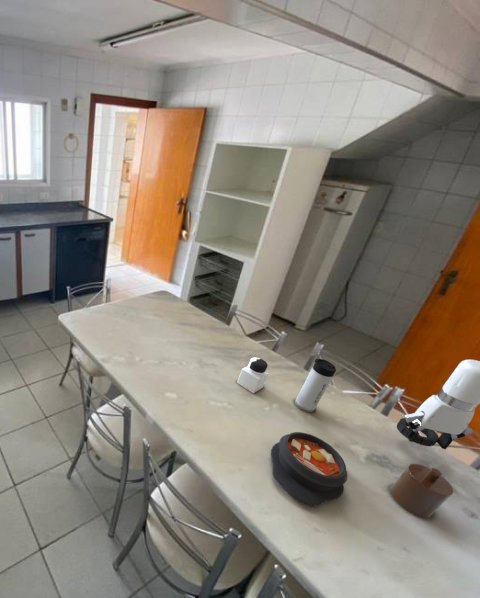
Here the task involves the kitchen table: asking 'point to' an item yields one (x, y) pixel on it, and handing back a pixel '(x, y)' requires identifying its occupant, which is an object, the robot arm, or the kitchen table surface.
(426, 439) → the black segmented ring
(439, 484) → the brown cylinder
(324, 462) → the casserole
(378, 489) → the kitchen table surface
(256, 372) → the medicine bottle
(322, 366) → the travel mug
